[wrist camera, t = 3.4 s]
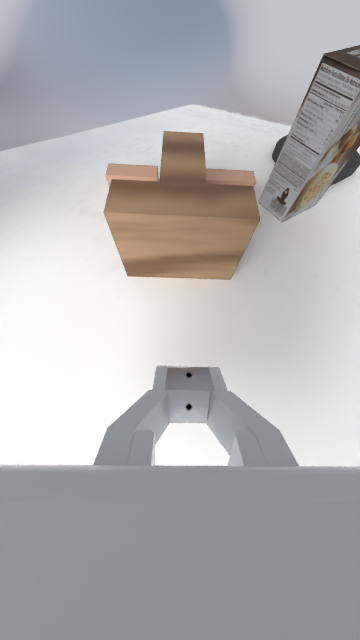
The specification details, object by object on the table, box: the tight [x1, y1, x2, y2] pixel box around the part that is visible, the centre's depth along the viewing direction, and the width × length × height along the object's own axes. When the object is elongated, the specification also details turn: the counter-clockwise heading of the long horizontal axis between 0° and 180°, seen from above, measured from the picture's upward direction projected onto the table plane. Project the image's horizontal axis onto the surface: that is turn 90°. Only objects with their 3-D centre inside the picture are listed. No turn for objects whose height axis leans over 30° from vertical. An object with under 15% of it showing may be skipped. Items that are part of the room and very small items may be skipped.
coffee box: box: [259, 45, 360, 222], centre depth 26 cm, size 9×6×16 cm
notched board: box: [106, 164, 256, 188], centre depth 31 cm, size 3×24×4 cm, turn 89°
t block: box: [104, 131, 260, 279], centre depth 25 cm, size 15×15×10 cm
